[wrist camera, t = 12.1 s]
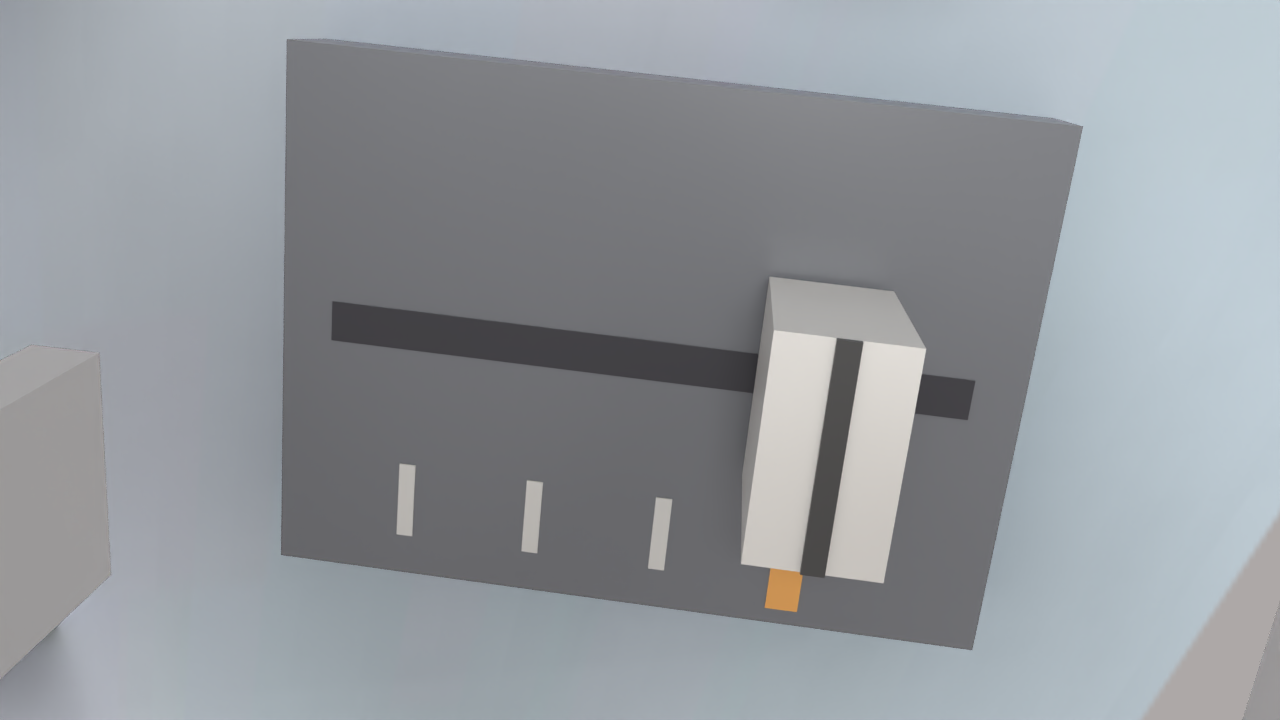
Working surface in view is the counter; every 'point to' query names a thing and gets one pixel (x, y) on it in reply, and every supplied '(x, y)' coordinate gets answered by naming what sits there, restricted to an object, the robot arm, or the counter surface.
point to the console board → (637, 322)
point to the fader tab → (828, 429)
